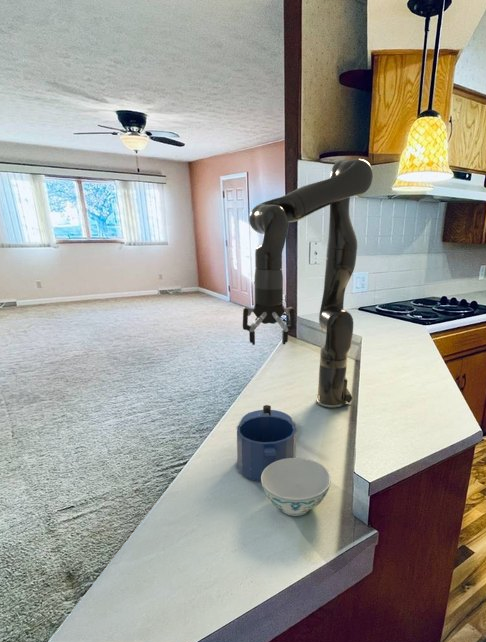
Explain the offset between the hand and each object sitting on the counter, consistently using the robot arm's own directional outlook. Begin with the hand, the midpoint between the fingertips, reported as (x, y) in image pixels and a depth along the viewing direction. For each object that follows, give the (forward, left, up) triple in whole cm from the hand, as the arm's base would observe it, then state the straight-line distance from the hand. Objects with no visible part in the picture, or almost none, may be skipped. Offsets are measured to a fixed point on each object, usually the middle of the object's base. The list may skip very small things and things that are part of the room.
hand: (268, 343), depth 116 cm
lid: (0, 0, -25) cm, 25 cm away
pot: (+2, +22, -26) cm, 34 cm away
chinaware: (-3, +39, -26) cm, 47 cm away
